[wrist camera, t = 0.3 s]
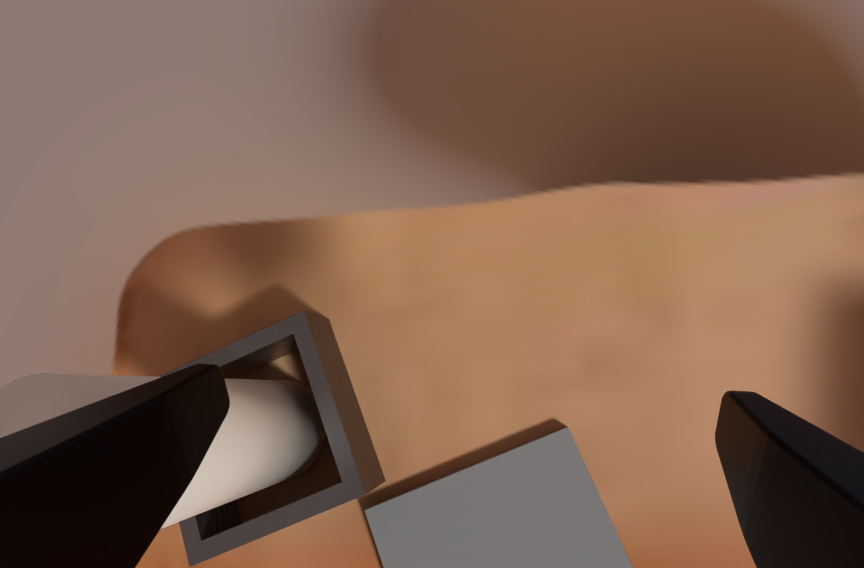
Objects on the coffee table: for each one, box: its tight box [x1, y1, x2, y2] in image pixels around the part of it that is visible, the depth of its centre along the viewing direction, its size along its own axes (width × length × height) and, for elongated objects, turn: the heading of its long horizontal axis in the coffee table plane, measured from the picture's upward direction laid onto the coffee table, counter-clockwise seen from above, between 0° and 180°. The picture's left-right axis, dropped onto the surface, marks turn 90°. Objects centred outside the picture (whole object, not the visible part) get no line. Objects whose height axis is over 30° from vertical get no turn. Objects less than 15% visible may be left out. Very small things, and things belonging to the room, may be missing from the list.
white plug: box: [0, 373, 326, 529], centre depth 18 cm, size 5×5×13 cm
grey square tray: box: [158, 311, 385, 567], centre depth 23 cm, size 8×8×3 cm
